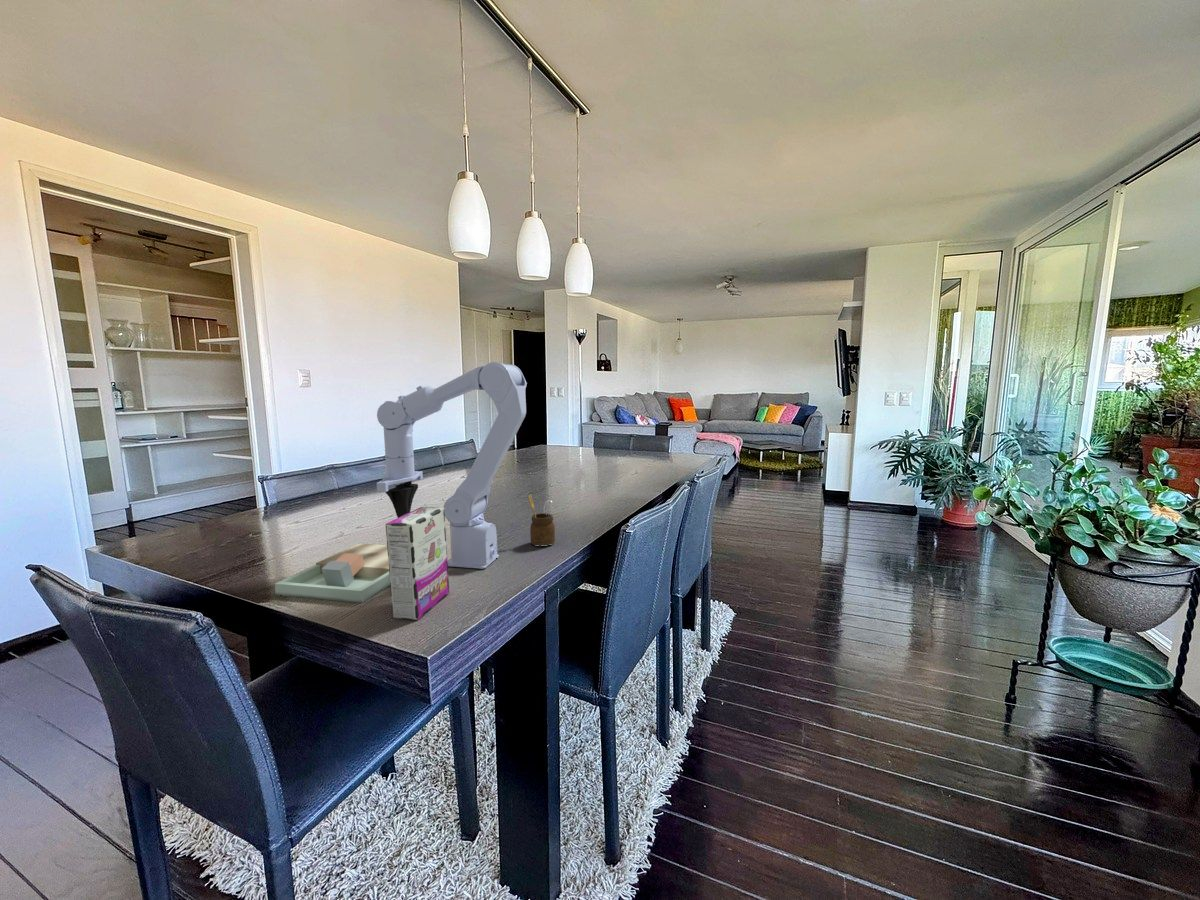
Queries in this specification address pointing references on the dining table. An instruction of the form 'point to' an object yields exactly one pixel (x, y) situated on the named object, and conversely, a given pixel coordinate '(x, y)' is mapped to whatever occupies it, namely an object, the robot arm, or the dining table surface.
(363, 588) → the sage tray
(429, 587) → the candy bar box
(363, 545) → the birch plate
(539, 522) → the utensil holder
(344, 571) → the slate-grey block
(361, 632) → the dining table surface
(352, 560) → the terracotta block
